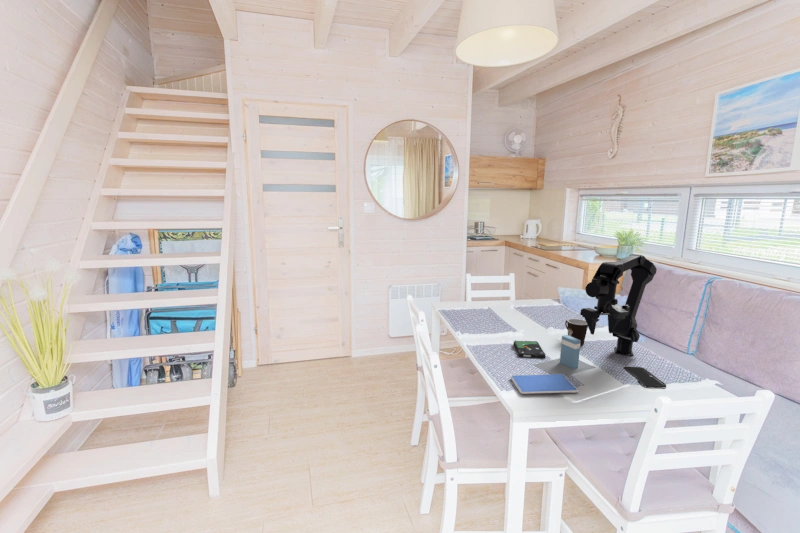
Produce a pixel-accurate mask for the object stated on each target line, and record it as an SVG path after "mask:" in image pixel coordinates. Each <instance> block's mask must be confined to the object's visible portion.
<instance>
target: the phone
mask: <svg viewBox="0 0 800 533" xmlns="http://www.w3.org/2000/svg"><path fill="white" fill-rule="evenodd" d="M622 369H624V370H625V371H626V372H628V374H630V375H631V376H633V377H634V378H635V379H636V380H637V382H638V381H639V382H640V383H641V384H643V385H644V386H646V387H645V388H648V387H666V388H667V384H666V383H664V382H663V381H662V380H660V379H659V378H657V376H655V375H654V374H652V372H650V371H648V370H647V369H646V368H644V367H641V366H623V368H622ZM639 382H638V383H639ZM640 383H639V384H640ZM641 384H640V385H641ZM644 386H643V387H644Z"/></svg>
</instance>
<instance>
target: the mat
mask: <svg viewBox="0 0 800 533" xmlns="http://www.w3.org/2000/svg"><path fill="white" fill-rule="evenodd" d="M533 366H534V367H537V368H539V369H540V370H543V372H546V373H547V374H563V375H564V376H565V377H566V376H569V375H574V374H577V373H580V372H584V371H587V370H588V371H589V370H591V369H594V368H596V367H595V366H593V365H591V364H589V363H587V362H584V361H582V360H580V359H579V362H578V368H574V369H573V368H570V367H568V366H566V365H564V364H562V363H560V357H559V358H555V359H551V360H545V361H543V362H539V363H535V364H534V363H533Z"/></svg>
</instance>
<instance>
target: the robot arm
mask: <svg viewBox="0 0 800 533" xmlns="http://www.w3.org/2000/svg"><path fill="white" fill-rule="evenodd" d="M628 270H630V276H631V279H632V283H631V285H630V289H629V292H628V295H627V298H626V300H625V303H624V304H623V305H621V304H620V305H619V304H618V303H619V301H618V299H617V298H616V293H617V285H619V284H620V281H619V279H620V278H621V277H623V276H624V272H627V271H628ZM657 270H658V269H657V267H656V266H655V264H654V263H653V262H652V261H651V260H649V259H647V258H646V257H645V256H644V255H642V254H637V253H630V254H629V256H626V257H622V258H621V259H619V260H616V261H603V262H602V263H601V264H600V265H599V266H598V268H597V270H596V272H595V274H594V275H593V277H592V279H591V281H590V282H589V283H587V284H586V286H585V288H584V289H585V293H586V295H587V296H588V297H590V298H595V300H597V303H596V305H594V308H591V307H585V308H581V309H580V312H579V313H580V314H579V315H580V316H582V318H584V321H586V322H587V325H588V330H589V332H590V334H591V335H593V336H594V334H595V331H596V326H597V322H599V321H600V319H599V318H600V316H607V327H608V333H609V334H612V336H613V337H615V338H617V339H616V340H617V341H616V346H614V350H615V353H616V354H620V355H624V356H625V355H626V356H634V352H633V346H634V345H633V344H634V343H638V342H639V340H640V337H641V335H640V333H639V332H638V329H637V328H638V323H637V320H636V316H637V313H638V310H639V306H640V304H641V301H642V299H643V298H642V297H643V295H644V291H645V288H646V286H647V285H648V284H649V283H650V282H652V281H653V279H654V277H655V275H656V274H657Z"/></svg>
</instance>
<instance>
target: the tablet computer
mask: <svg viewBox="0 0 800 533" xmlns="http://www.w3.org/2000/svg"><path fill="white" fill-rule="evenodd" d="M510 380H511V381H512V382H513V385H515V387H516V389H517V390H518V391H519V393H520V394H522V395H526V394H527V395H529V394H530V395H531V394H534V395H535V394H563V393H564V394H565V393H567V394H568V393H570V394H571V393H574V394H575V393H579V390H578V388H577V387H576V386H575V385H574V384H573V383H572V382H571V381H570V380H569V379H568V378H567V377H566V376H564V375H563V374H550V373H548V374H527V375H525V374H524V375H523V374H521V375H519V374H517V375H511V376H510Z"/></svg>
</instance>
